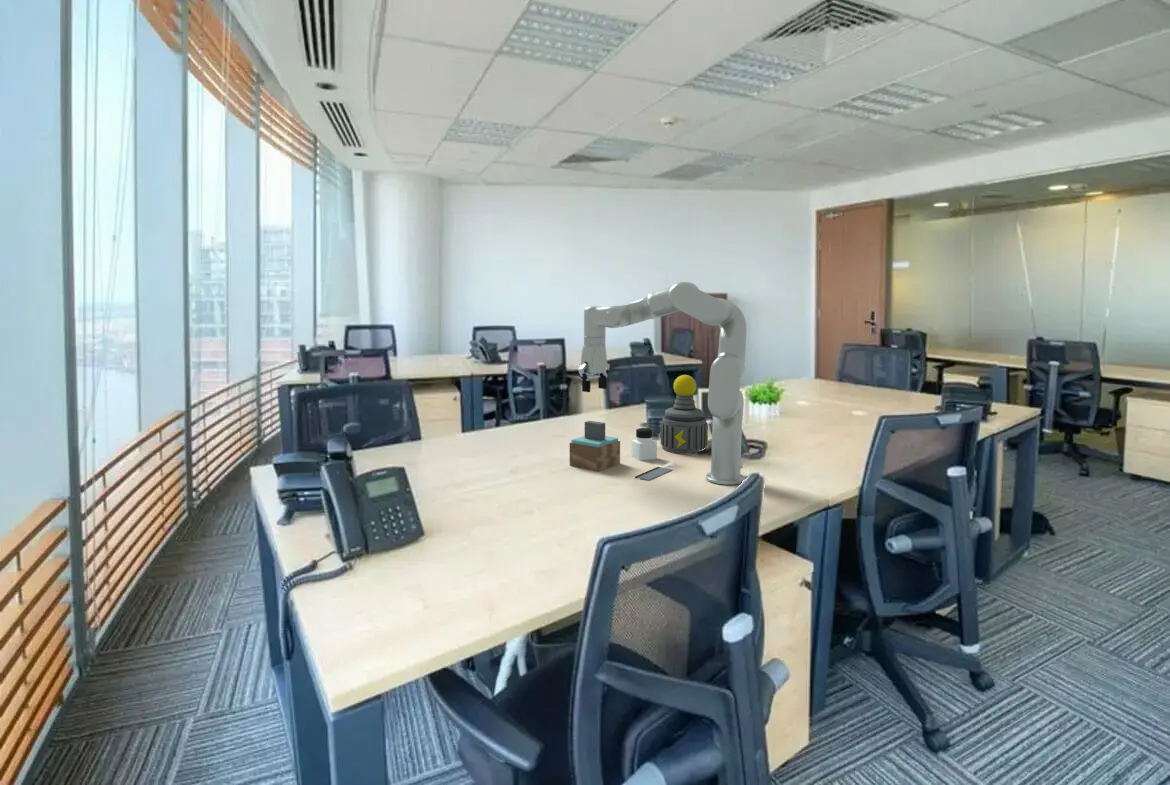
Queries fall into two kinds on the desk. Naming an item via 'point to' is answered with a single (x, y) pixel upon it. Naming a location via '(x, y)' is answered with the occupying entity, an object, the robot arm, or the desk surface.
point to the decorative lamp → (684, 421)
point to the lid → (594, 435)
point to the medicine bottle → (644, 445)
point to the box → (595, 456)
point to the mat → (653, 473)
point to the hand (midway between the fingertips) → (594, 390)
